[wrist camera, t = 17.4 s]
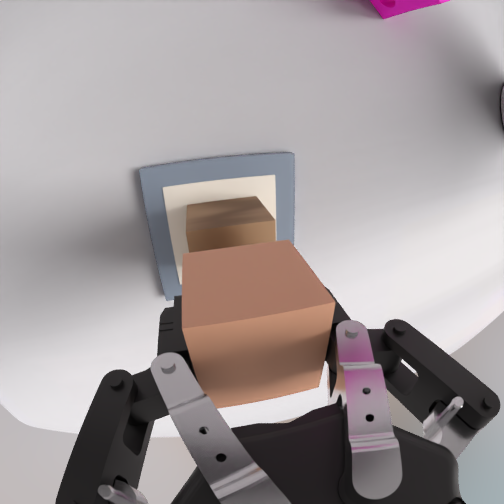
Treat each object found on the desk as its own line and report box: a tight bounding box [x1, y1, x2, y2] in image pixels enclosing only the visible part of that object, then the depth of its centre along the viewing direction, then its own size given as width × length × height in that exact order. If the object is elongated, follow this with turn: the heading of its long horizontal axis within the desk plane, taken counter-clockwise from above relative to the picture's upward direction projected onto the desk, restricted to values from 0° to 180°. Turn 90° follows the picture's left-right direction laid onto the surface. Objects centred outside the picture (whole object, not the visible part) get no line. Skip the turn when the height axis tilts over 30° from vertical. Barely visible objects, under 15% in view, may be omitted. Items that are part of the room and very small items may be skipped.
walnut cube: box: [186, 196, 276, 253], centre depth 18 cm, size 5×5×5 cm
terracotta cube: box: [182, 239, 336, 408], centre depth 12 cm, size 5×5×5 cm
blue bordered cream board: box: [139, 152, 295, 301], centre depth 21 cm, size 11×11×1 cm
